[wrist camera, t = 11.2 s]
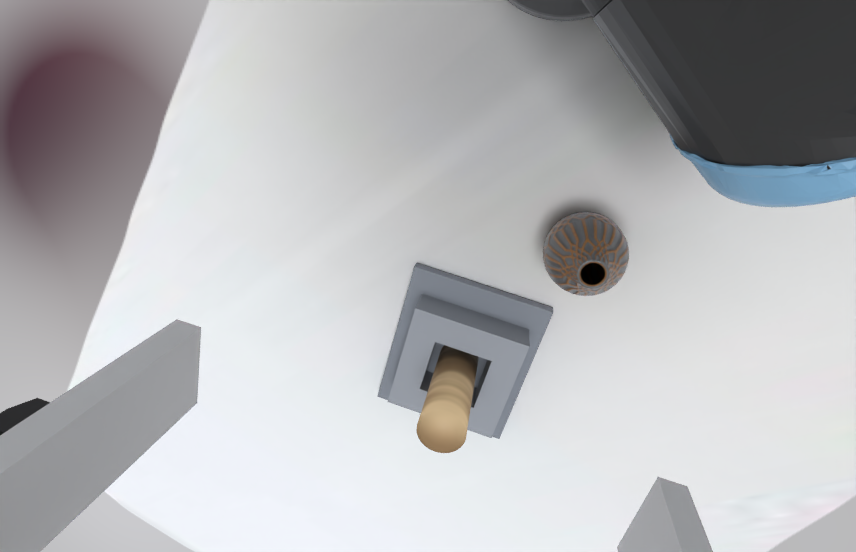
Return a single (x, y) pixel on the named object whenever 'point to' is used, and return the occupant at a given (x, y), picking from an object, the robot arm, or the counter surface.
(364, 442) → the counter surface
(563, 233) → the vase
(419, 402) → the socket
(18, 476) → the robot arm
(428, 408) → the peg
